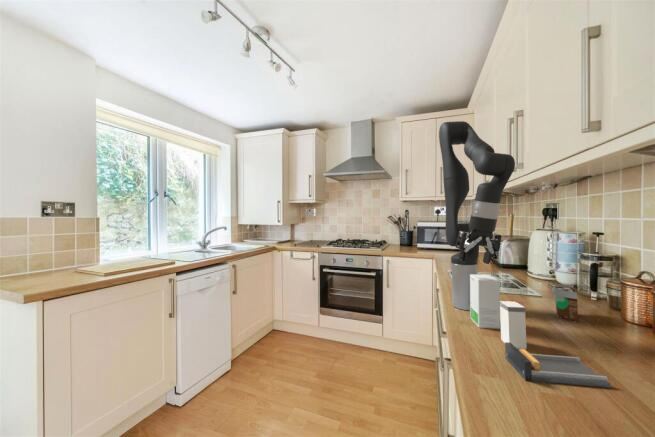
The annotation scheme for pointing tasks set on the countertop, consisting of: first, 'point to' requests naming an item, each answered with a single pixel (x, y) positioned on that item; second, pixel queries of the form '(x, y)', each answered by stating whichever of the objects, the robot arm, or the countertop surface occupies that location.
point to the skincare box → (485, 301)
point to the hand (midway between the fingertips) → (474, 262)
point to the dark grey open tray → (554, 369)
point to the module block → (513, 324)
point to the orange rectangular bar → (534, 362)
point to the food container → (566, 302)
